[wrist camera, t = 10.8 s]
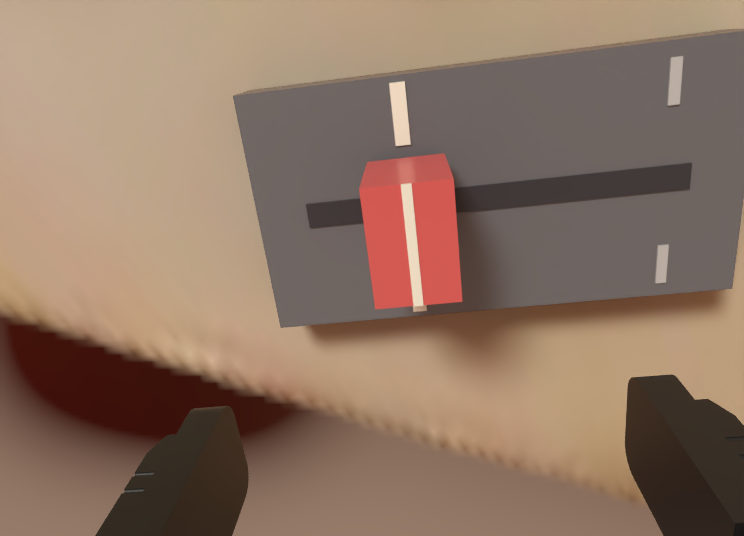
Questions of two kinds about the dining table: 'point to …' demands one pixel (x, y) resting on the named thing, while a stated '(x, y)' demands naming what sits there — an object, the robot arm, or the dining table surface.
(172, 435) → the robot arm
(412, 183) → the fader
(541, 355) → the dining table surface
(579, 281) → the console
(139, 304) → the dining table surface
